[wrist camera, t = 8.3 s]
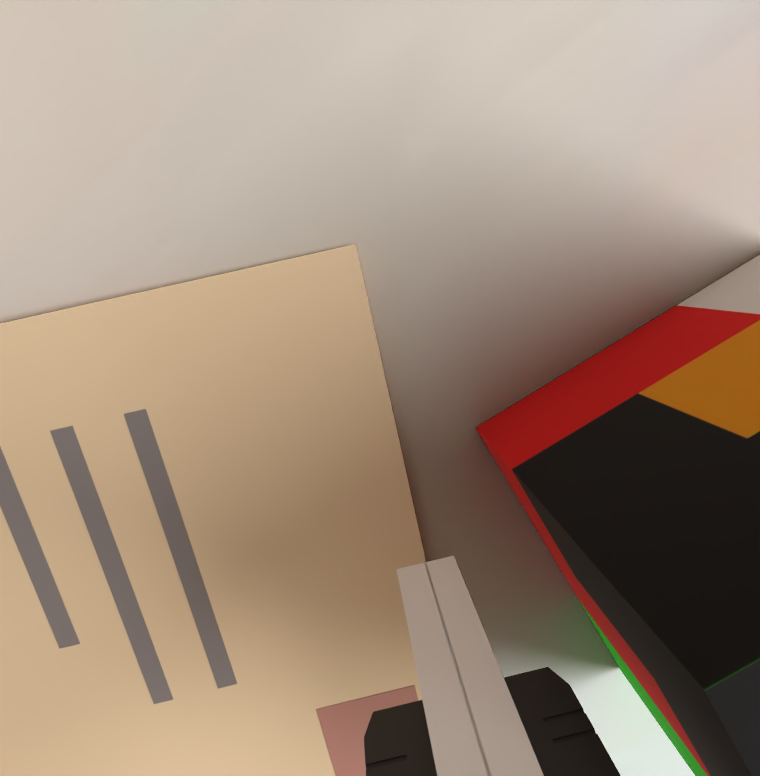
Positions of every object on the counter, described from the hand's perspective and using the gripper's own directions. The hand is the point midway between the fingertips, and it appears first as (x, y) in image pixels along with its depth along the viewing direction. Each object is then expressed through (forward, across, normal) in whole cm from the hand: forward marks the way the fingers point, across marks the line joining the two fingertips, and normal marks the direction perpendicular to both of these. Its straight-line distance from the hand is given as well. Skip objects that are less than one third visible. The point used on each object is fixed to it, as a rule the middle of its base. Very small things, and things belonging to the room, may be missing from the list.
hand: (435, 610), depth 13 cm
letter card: (+3, -8, 0) cm, 8 cm away
